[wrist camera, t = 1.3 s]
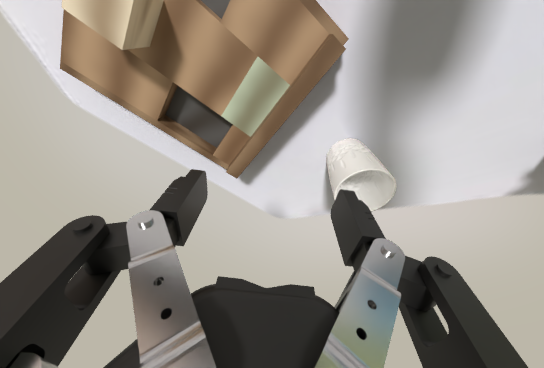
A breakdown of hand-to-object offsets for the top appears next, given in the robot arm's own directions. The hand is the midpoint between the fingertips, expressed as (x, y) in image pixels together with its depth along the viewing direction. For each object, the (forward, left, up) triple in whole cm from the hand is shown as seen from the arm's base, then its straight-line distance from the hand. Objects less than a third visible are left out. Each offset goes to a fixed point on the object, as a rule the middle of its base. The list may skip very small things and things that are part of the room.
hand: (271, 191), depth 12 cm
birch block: (-8, -16, -18) cm, 26 cm away
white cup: (+8, +13, -21) cm, 26 cm away
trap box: (-5, -10, -21) cm, 24 cm away
